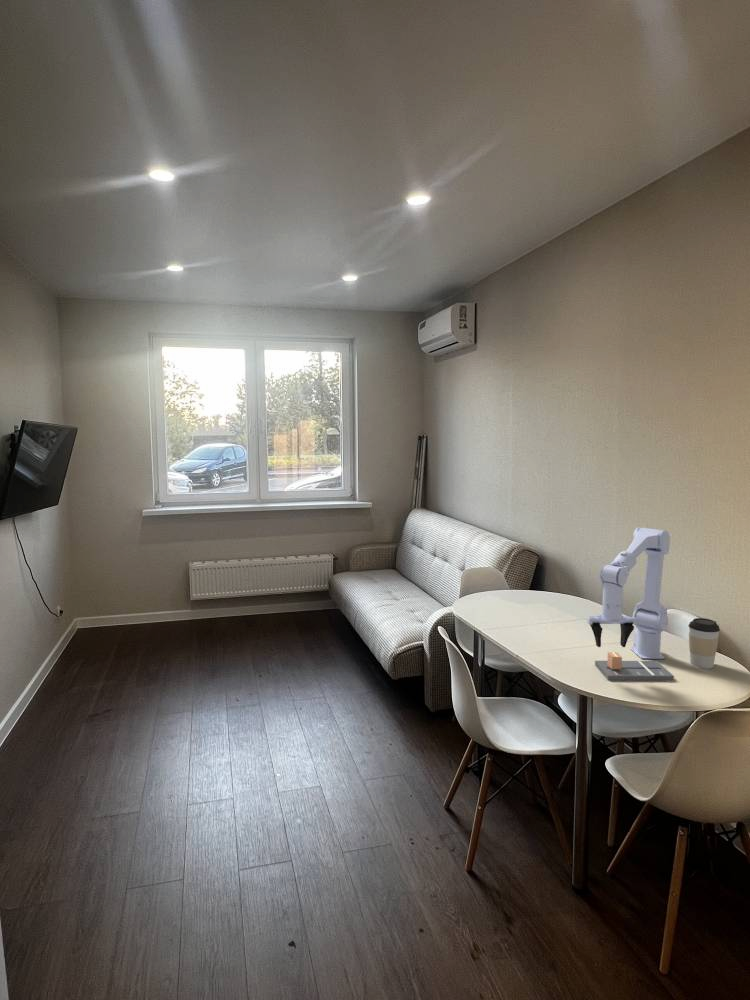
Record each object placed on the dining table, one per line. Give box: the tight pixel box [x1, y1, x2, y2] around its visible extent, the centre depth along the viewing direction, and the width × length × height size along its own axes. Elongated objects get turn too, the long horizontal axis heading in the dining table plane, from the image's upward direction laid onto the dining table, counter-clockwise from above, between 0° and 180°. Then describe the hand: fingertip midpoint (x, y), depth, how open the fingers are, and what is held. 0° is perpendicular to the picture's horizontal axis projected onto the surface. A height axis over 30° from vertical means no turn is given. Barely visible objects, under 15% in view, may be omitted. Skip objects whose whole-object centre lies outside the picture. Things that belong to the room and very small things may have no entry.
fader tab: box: [606, 651, 623, 669], centre depth 190 cm, size 4×3×4 cm
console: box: [594, 660, 675, 682], centre depth 191 cm, size 12×20×2 cm, turn 88°
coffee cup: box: [688, 617, 721, 669], centre depth 196 cm, size 9×9×15 cm
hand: (610, 646), depth 188 cm, fingers open, 7 cm apart
